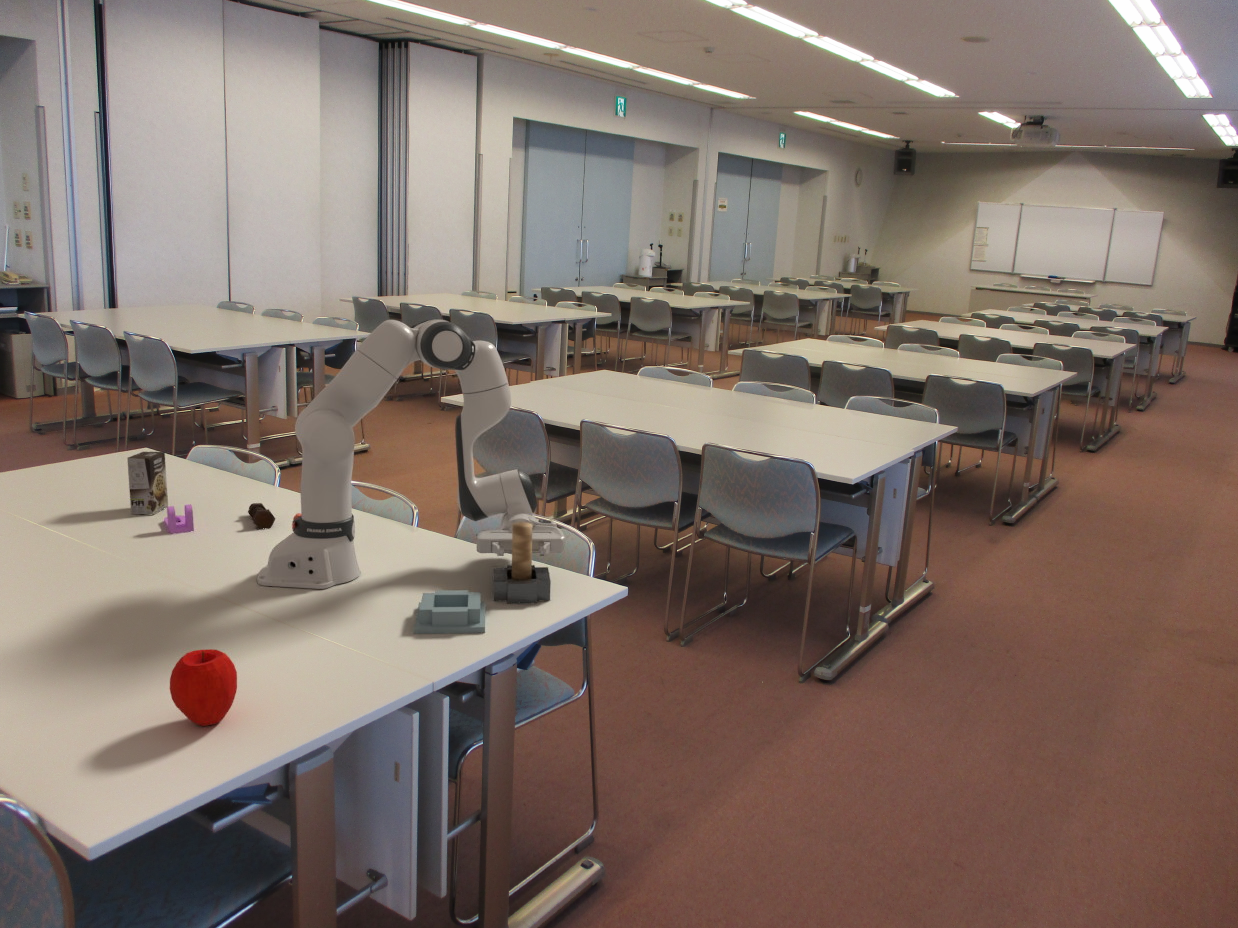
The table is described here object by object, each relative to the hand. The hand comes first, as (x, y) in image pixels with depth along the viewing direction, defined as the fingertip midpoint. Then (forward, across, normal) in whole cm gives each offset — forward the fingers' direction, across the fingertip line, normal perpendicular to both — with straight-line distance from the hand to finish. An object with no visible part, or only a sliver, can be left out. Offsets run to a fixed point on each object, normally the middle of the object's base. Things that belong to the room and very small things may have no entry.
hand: (521, 552), depth 210 cm
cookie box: (-68, -101, +10) cm, 122 cm away
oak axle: (0, 0, +10) cm, 10 cm away
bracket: (-53, -89, +10) cm, 104 cm away
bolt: (-57, -69, +10) cm, 90 cm away
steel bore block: (0, 0, +10) cm, 10 cm away
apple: (+56, -52, +10) cm, 77 cm away
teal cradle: (+15, -15, +10) cm, 24 cm away
